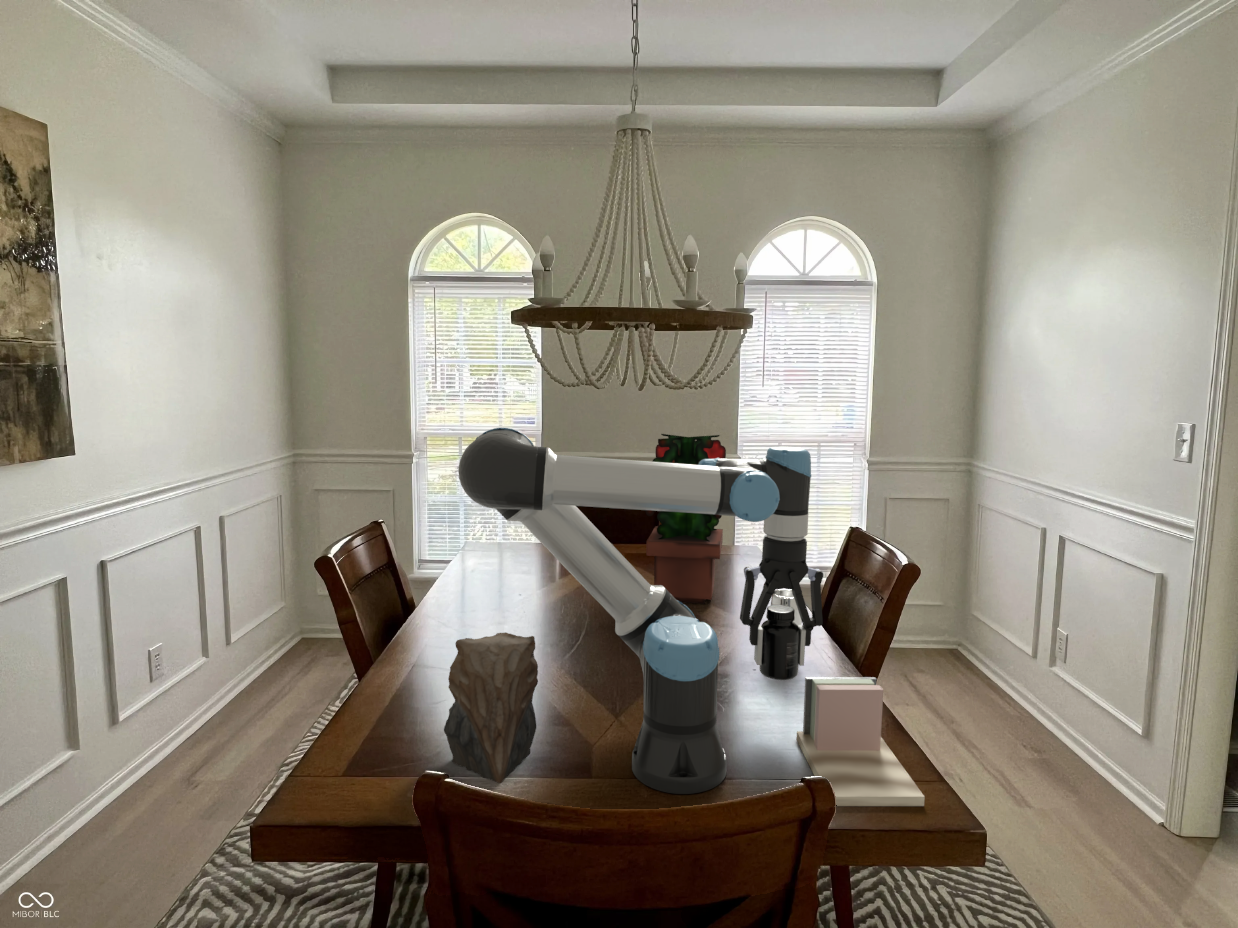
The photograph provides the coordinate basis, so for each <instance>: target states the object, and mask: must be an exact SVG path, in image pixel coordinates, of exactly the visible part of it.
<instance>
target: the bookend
mask: <svg viewBox="0 0 1238 928" xmlns="http://www.w3.org/2000/svg"><path fill="white" fill-rule="evenodd" d="M812 679H871V680H872V681H873V682H874V685H877V680H878V679H877V678H876V677H874V676H872V677H871V676H862V677H861V676H856V677H855V676H805V677H804V693H803V694H804V696H803V697H804V699H803V719H802V720H803V721H802V723H803V724H802V725H803V727H802V731H803V733H804V735H810V721H811V697H812Z"/></svg>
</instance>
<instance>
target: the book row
mask: <svg viewBox="0 0 1238 928" xmlns="http://www.w3.org/2000/svg"><path fill="white" fill-rule="evenodd" d="M883 702H884V688H883V687H882V686H881V685H880V684H876V685H874V682H873V681H872V680H871V679H812V697H811V721H810V736H811V737H812V739H813V740H814V741H815V742H814V745H815V747H816V749H817V750H880V743H881V737H882V723H883V720H882V719H883V704H884V703H883Z"/></svg>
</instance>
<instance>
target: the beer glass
mask: <svg viewBox="0 0 1238 928" xmlns="http://www.w3.org/2000/svg"><path fill="white" fill-rule="evenodd" d="M770 605H786V606H790V607H792V608H794V610H795V613H794V616H795V620H794V621H793V622H794V623H796V624H797V625H803V623H802V620H801V617H800V614H799V611H798V608H797V605H796V602H795V599H794V595H793V592H792V590H791V589H785V588H783V589H776V590H775V592H774V594H773V595H772V597H771V599H770Z"/></svg>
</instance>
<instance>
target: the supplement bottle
mask: <svg viewBox="0 0 1238 928" xmlns="http://www.w3.org/2000/svg"><path fill="white" fill-rule="evenodd" d="M794 613H795V610H794V608H792V607H790V606H786V605H771V604H770V605H768V606H767V608H766V614H765V615H766V617H765V618H766V620H765V621H763V622H762V624H760V625H761V627H762V629H763V639H762V661H761V665H759V672H760V673H761V675H762V676H764V677H766V678H768V679H772V680H776V681H777V680H778V681H788V680H789V681H790V680H792V679H795V678H796V677H797V676H798V674H799V666H800V665H799V639H800V630H799V627H798V625H797V624H796V623H794V622H793V621H794V620H795V616H794Z"/></svg>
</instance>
